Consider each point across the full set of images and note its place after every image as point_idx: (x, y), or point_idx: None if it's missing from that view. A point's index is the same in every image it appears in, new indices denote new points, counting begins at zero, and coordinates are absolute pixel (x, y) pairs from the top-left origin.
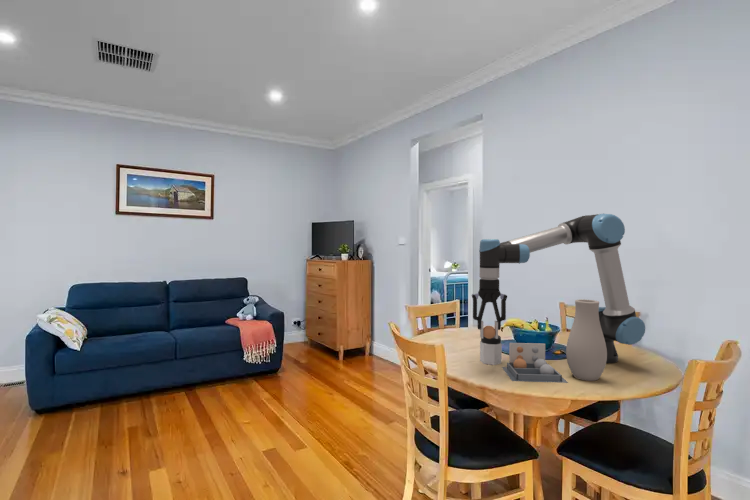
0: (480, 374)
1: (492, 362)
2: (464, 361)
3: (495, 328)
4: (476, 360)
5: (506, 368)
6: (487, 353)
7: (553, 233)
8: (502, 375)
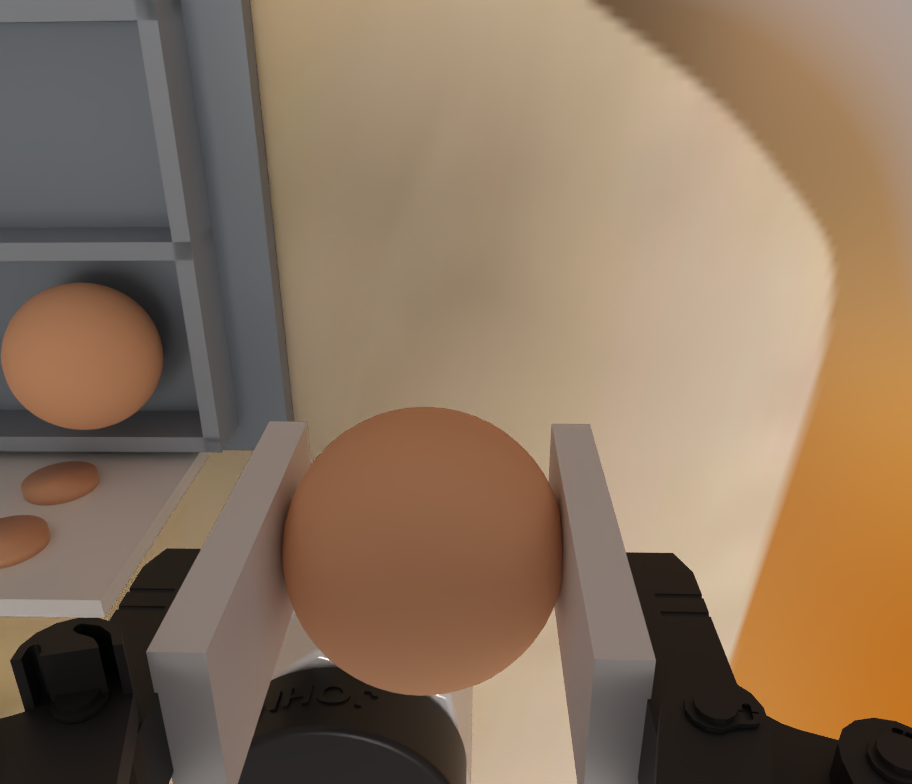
0: (542, 264)
1: None
2: None
3: (266, 583)
4: None
5: (245, 407)
6: None
7: None
8: (312, 252)
